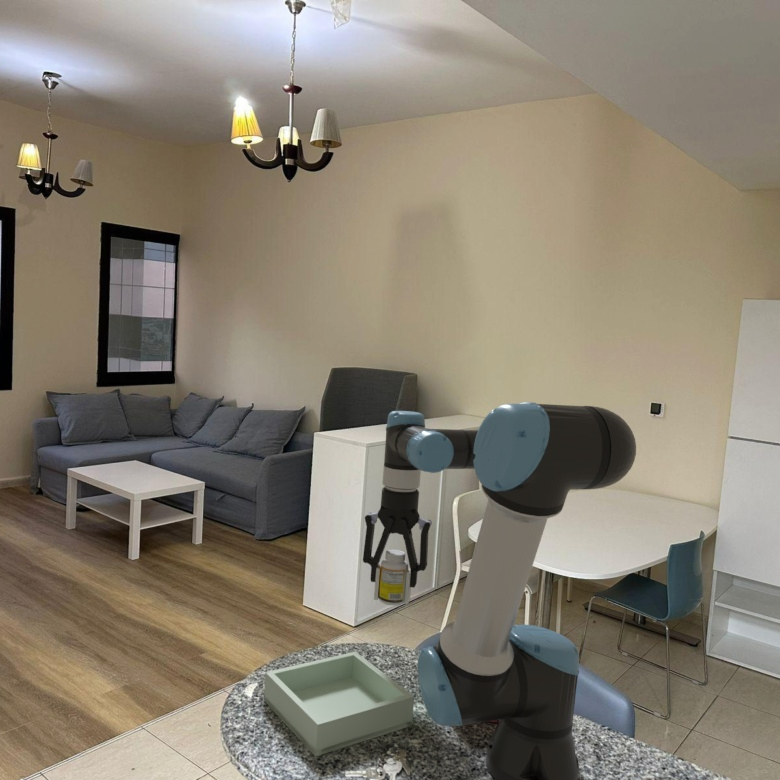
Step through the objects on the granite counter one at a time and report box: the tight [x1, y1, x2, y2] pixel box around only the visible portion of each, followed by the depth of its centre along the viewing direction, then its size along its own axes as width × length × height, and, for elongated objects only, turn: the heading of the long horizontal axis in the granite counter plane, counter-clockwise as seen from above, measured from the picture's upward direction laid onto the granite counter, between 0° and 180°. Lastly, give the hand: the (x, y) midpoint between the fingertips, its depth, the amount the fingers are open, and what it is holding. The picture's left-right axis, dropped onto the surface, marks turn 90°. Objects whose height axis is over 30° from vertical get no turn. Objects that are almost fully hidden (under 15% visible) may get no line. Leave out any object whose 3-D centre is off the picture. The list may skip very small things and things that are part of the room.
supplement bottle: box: [378, 549, 409, 606], centre depth 144 cm, size 6×6×10 cm
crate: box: [263, 651, 415, 757], centre depth 131 cm, size 20×20×6 cm
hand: (392, 599), depth 144 cm, fingers closed on supplement bottle, 5 cm apart
